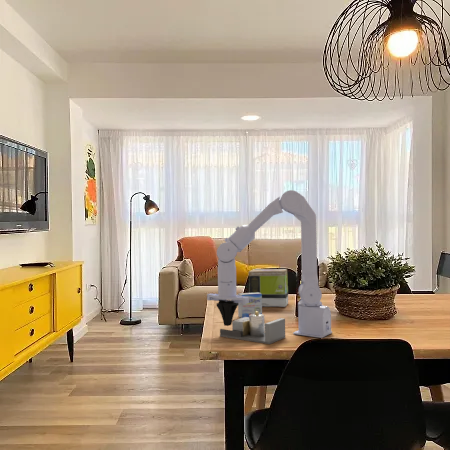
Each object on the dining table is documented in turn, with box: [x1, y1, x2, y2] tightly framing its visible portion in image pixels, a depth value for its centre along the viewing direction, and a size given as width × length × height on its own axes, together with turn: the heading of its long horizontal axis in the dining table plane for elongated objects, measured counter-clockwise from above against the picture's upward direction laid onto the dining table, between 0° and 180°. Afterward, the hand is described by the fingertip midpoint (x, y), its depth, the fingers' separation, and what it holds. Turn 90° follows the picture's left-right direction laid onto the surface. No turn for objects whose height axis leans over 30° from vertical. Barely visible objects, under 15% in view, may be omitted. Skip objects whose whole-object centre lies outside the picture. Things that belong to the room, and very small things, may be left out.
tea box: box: [248, 268, 289, 308], centre depth 193 cm, size 15×10×15 cm
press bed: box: [219, 317, 286, 345], centre depth 139 cm, size 18×9×6 cm, turn 53°
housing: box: [249, 312, 265, 337], centre depth 138 cm, size 4×4×7 cm
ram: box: [231, 317, 250, 336], centre depth 140 cm, size 4×7×4 cm, turn 143°
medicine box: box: [237, 292, 263, 319], centre depth 169 cm, size 8×4×9 cm, turn 105°
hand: (227, 325), depth 144 cm, fingers closed
